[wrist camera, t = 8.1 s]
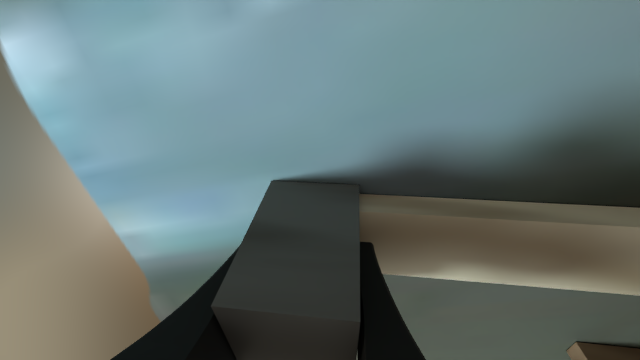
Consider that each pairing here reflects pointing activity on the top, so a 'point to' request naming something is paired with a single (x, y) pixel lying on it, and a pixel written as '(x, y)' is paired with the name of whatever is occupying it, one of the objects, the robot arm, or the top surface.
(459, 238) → the ash handle hammer
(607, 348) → the walnut bench
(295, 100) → the top surface
